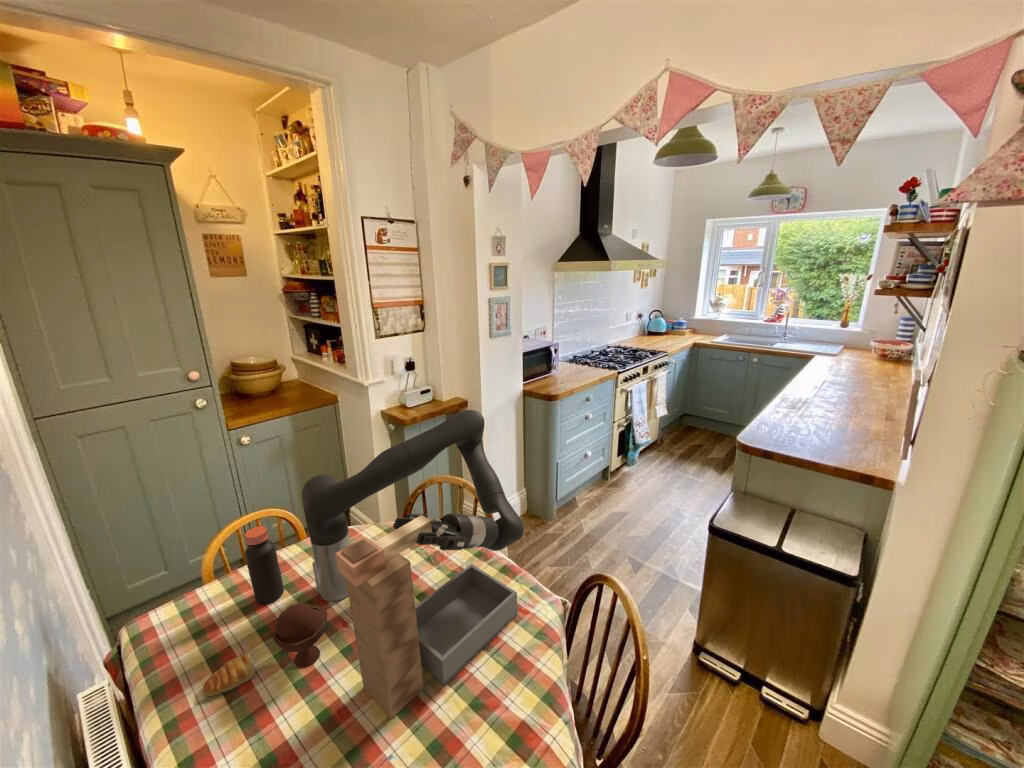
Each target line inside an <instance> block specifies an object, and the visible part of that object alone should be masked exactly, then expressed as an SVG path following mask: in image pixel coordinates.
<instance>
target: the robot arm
mask: <svg viewBox="0 0 1024 768" xmlns="http://www.w3.org/2000/svg"><path fill="white" fill-rule="evenodd" d="M484 430H485V419H484V416H483V414H482V413H481V412H479V411H477V410H475V409H466V410H462V411H459V412H457V413H456V414H453V415H452V416H451V417H449V418H447V419H446V420H444V421H442V422H440V423H439V424H438V425H435V426H434V427H431V428H430V429H427V430H425V431H423V432H420V433H419V434H417V435H415V436H413V437H411V438H409V439H406V440H404V441H402V442H399V443H397V444H395V445H393V446H391V447H389V448H387V449H385V450H383V451H382V452H380V453H379V454H378V455H377V456H375V457H374V459H373V460H371V461H370V462H369V463H368V464H367V465H366V466H365V467H364V468H363V469H361V470H360V471H359V472H357V473H356V474H354V475H352V476H350V477H348V478H346V479H344V480H342V481H338V480H337V479H336V478H335V477H333V476H332V475H329V474H317V475H315V476H312V477H311V478H310V479H308V480H307V481H306V482H305V484H304V485H303V488H302V491H301V501H302V502H301V503H302V507H303V511H304V512H303V513H304V516H305V522H306V526H307V531H308V535H309V541H310V545H311V550H312V555H313V560H314V561H313V562H312V563H311V565H312V570H313V574H314V581H315V585H316V590H317V593H318V594H320V597H321V598H322V599H323V600H324V601H327V602H337V601H341V600H344V599H346V598H347V597H349V595H348V589H347V583H346V578H345V577H344V576H343V575H342V574H341V573H339V572H338V566H337V560H336V554H335V553H337V552H338V551H340V550H342V549H344V548H346V547H348V546H349V545H351V539H350V532H349V525H348V524H349V523H348V521H347V517H346V514H345V512H346V511H348V510H350V509H351V508H353V507H354V506H356V505H358V504H359V503H360V502H362V501H364V500H365V499H367V498H368V497H371V496H372V495H374V494H377V493H379V492H380V491H382V490H384V489H386V488H388V487H390V486H392V485H394V484H395V483H398V482H400V481H402V480H404V479H406V478H408V477H410V476H412V475H414V474H416V473H418V472H419V471H421V470H423V469H424V468H425V467H427V465H428V464H429V463H431V462H432V461H433V460H434V459H435V458H436V457H437V456H438V455H439V454H441V453H442V452H443V451H445V449H447V448H449V447H451V446H452V445H456V448H457V449H458V451H459V452H460V454H461V455H462V458H463V460H464V462H465V464H466V466H467V469H468V472H469V474H470V477H471V480H472V483H473V486H474V489H475V492H476V495H477V499H478V501H479V504H480V506H481V509H482V511H483V513H484V514H487V515H492V514H496V513H498V514H499V516H500V517H499V518H497V519H496V520H494V518H492V517H488V516H483V515H481V516H479V515H473V514H464V513H462V514H461V513H446V514H445V515H443V516H442V517H441V518H440V519H438V518H429V517H428V515H427V514H426V513H406V515H405V517H396V519H395V521H394V523H393V529H395V530H396V529H398V528H400V527H402V526H403V525H405V524H407V523H409V522H410V521H412V520H414V519H416V518H417V517H419V516H421V515H422V516H424V517H426V518H427V519H429V520H431V528H432V532H421V533H419V535H418V538H417V541H416V543H415V544H417V545H419V546H429V545H430V546H433V547H439V549H440V550H441V551H462V550H468V549H469V550H470V549H474V548H484V549H487V550H490V551H493V552H497V551H501V550H504V549H506V548H507V547H509V546H510V545H512V544H514V543H516V542H518V541H519V540H521V539H522V537H523V536H524V533H525V532H524V531H525V527H524V526H525V525H524V522H523V520H522V519H521V517H520V516H519V514H518V513H517V512H516V510H515V509H514V508H513V506H512V505H511V503H510V502H509V500H508V499H507V496H506V494H505V492H504V489H503V486H502V484H501V482H500V478H499V477H498V475H497V473H496V472H495V470H494V468H493V466H491V464H490V462H489V460H488V458H487V456H486V453H485V450H484V445H483V443H484V442H483V437H484Z"/></svg>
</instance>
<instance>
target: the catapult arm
mask: <svg viewBox="0 0 1024 768" xmlns="http://www.w3.org/2000/svg"><path fill="white" fill-rule="evenodd" d="M427 518H428V517H427ZM427 518H426V517H424V516H422V515H421V516H419V517H417V518H416V519H414V520H412V521H410V522H409V523H407V524H405V525H403V526H402V527H400V528H398V529H395V530H393V531H391V532H389V533H388V534H386V535H384V536H382V537H380V538H379V539H377V540H376V541H374V542H373V540H371V539H370V538H368V537H367V536H364V537H362V538H360V539H359V540H356V541H355V542H353V543H352V544H351V543H350V544H351V545H349V546H348V547H346V548H344V549H342V550H340V551H338V552H337V553H335V554H336V560H337V566H338V572H339V573H341V574H342V575H343V576H344V577H345V578H346V579H347V580H348V581H350V582H351V583H352V584H353V585H354V586H355V587H357V586H359V585H360V584H362V583H364V582H365V581H367V580H368V579H370V578H371V577H373V576H375V575H376V574H378V573H379V572H381V571H382V570H384V569H386V565H385V562H386V561H388V560H390V559H391V558H393V557H394V556H396V555H398V554H401V553H403V552H404V551H405V550H407V549H409V548H411V547H412V546H413V545H415V544H417V543H416V541H417V538H418V535H419V533H421V532H432V528H431V520H429V519H427Z"/></svg>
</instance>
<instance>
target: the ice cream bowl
mask: <svg viewBox="0 0 1024 768" xmlns="http://www.w3.org/2000/svg"><path fill="white" fill-rule="evenodd" d="M327 619H328V612H327V610H325V609H324V608H323V607H322V606H321V605H320V604H319V605H318V604H317V605H315V604H314V605H312V604H311V605H310V604H309V603H301V602H300V603H299V602H297V603H294V604H292V605H289V606H287V607H286V608H285V609H284V610H282V611H281V612H280V614H279V615H278V617H277V619H276V623H275V626H274V628H273V632H272V640H273V641H274V642H275V644H277V646H278V647H279V648H280V649H281V650H282V651H283V652H284V653H296V654H295V658H294V661H293V662H294V663H293V665H294V666H295V667H296V668H297V669H306V668H309V667H310V666H312V665H314V664H316V662H317V661H318V660H319V658H320V656H321V649H320V648H318V647H319V646H317V645H316V643H317V642H318V641H319V640H320V638H322V636H324V634H325V631H326V628H327Z"/></svg>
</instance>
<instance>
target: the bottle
mask: <svg viewBox="0 0 1024 768" xmlns="http://www.w3.org/2000/svg"><path fill="white" fill-rule="evenodd" d="M244 539H245V542H246V545H247V547H246V549H245V550H244V557H245V561H246V562H245V563H246V566H247V571H248V574H249V579H250V582H251V586H252V590H253V595H254V598H255V601H256V603H257V604H259V605H268V604H271V603H274V602H276V601H277V600H278V599H280V598H281V597H282V596H283V594H284V591H285V586H284V582H283V578H282V574H281V569H280V563H279V560H278V556H277V549H276V545H275V542H273V540H271V539H269V532H268V529H267V527H266V526H263V525H262V526H261V525H260V526H259V525H258V526H255V527H253V528H250V529H249V530H247V531H246V532H245V534H244Z"/></svg>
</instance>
